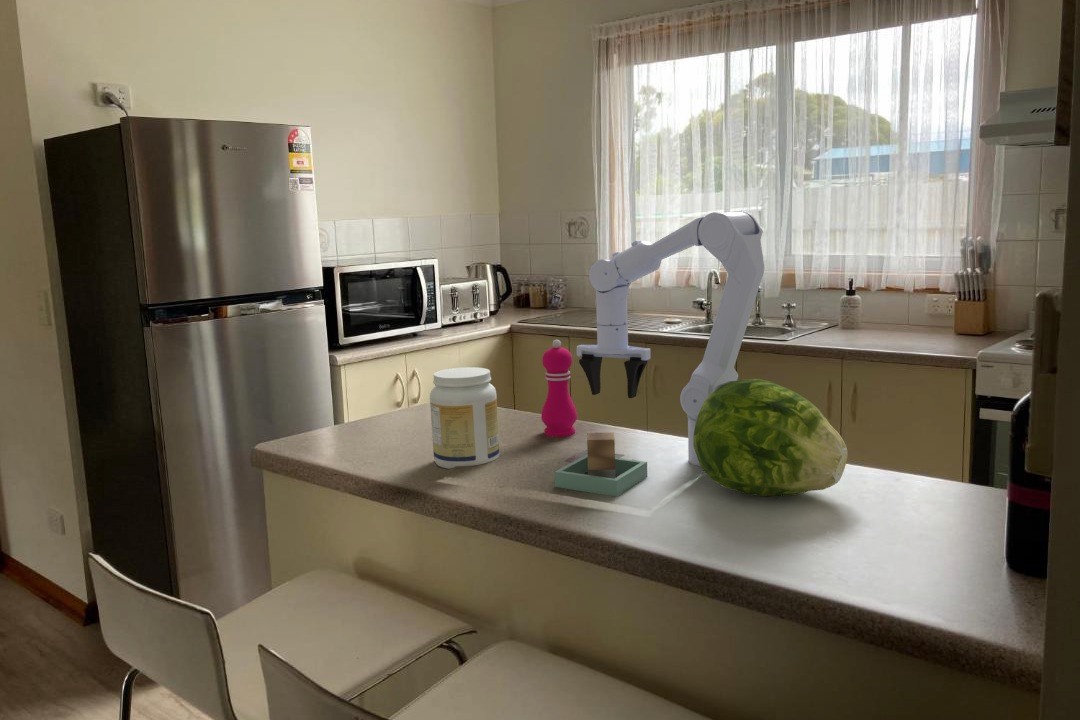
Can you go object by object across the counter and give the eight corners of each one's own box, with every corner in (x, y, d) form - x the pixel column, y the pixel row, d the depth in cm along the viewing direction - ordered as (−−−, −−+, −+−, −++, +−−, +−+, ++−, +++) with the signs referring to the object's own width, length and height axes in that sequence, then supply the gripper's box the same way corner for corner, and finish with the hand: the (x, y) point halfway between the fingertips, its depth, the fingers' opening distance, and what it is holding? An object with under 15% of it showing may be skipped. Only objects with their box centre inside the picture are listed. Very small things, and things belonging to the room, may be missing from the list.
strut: (614, 478, 143) (613, 432, 142) (615, 487, 139) (614, 439, 137) (588, 479, 143) (587, 433, 142) (588, 487, 139) (587, 440, 138)
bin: (647, 482, 143) (647, 461, 142) (617, 502, 133) (616, 480, 133) (588, 473, 149) (587, 454, 148) (555, 492, 139) (554, 471, 139)
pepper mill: (574, 442, 169) (571, 342, 166) (538, 441, 171) (535, 342, 167) (580, 433, 176) (577, 336, 173) (545, 432, 178) (542, 337, 174)
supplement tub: (480, 449, 167) (475, 363, 164) (512, 462, 157) (508, 371, 154) (422, 460, 160) (417, 371, 158) (452, 475, 150) (446, 381, 147)
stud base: (624, 460, 156) (624, 443, 155) (604, 472, 149) (603, 454, 149) (586, 455, 160) (585, 438, 159) (564, 466, 153) (564, 449, 153)
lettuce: (813, 531, 120) (846, 405, 118) (664, 479, 132) (691, 365, 130) (845, 514, 136) (873, 403, 134) (708, 470, 148) (733, 368, 146)
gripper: (657, 322, 159) (658, 394, 161) (588, 320, 167) (590, 388, 169) (640, 327, 153) (642, 401, 155) (570, 324, 161) (572, 395, 163)
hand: (613, 395), depth 162 cm, fingers open, 7 cm apart
